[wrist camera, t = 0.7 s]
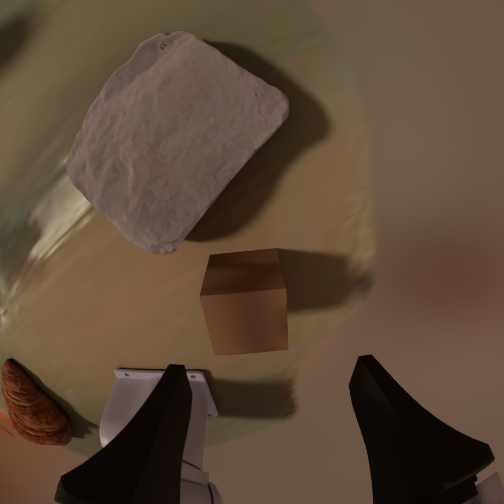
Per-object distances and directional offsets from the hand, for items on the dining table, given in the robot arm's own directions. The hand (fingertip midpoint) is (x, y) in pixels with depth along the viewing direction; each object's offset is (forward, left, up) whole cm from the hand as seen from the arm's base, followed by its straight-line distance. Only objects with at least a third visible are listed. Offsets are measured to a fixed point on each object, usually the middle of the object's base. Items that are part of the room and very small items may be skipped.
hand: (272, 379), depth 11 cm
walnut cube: (-1, -1, -10) cm, 10 cm away
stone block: (-5, +10, -10) cm, 15 cm away
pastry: (-37, -22, -10) cm, 44 cm away
